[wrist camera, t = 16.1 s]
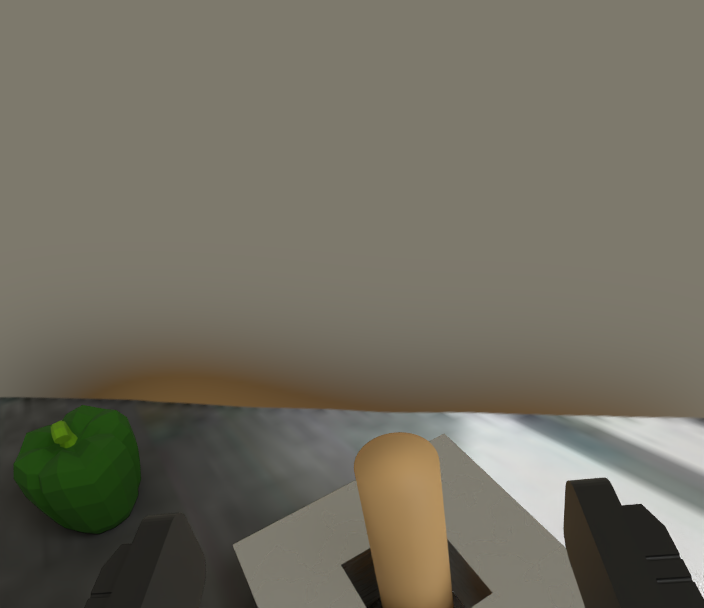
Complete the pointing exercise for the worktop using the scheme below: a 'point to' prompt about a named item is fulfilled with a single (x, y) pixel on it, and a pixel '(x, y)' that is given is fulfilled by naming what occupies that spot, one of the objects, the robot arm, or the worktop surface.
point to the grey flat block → (462, 537)
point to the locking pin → (405, 520)
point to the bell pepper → (82, 469)
